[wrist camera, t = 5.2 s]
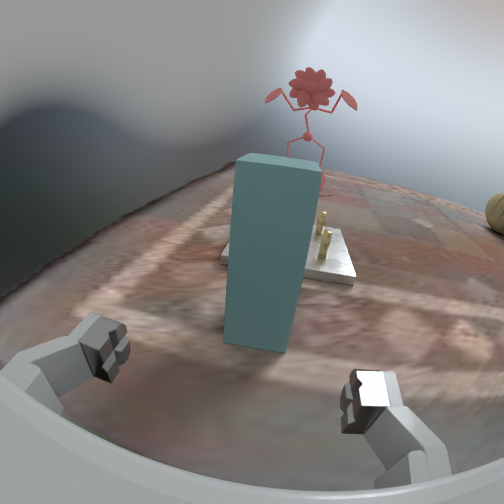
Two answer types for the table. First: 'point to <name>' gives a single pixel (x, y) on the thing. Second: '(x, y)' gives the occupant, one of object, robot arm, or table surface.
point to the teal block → (268, 247)
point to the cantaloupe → (496, 213)
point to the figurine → (312, 98)
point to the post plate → (323, 255)
